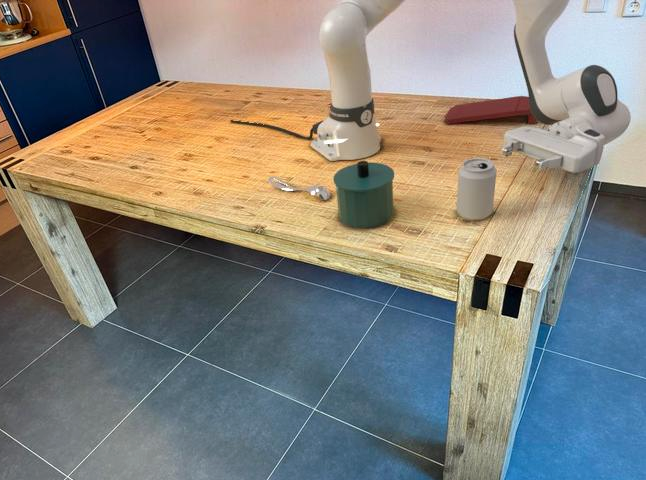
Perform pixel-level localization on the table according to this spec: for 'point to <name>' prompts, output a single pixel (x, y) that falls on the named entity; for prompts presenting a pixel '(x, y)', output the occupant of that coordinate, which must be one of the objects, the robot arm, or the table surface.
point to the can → (476, 188)
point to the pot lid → (363, 177)
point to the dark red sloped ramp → (490, 110)
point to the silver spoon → (315, 190)
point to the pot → (365, 207)
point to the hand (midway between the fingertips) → (520, 159)
